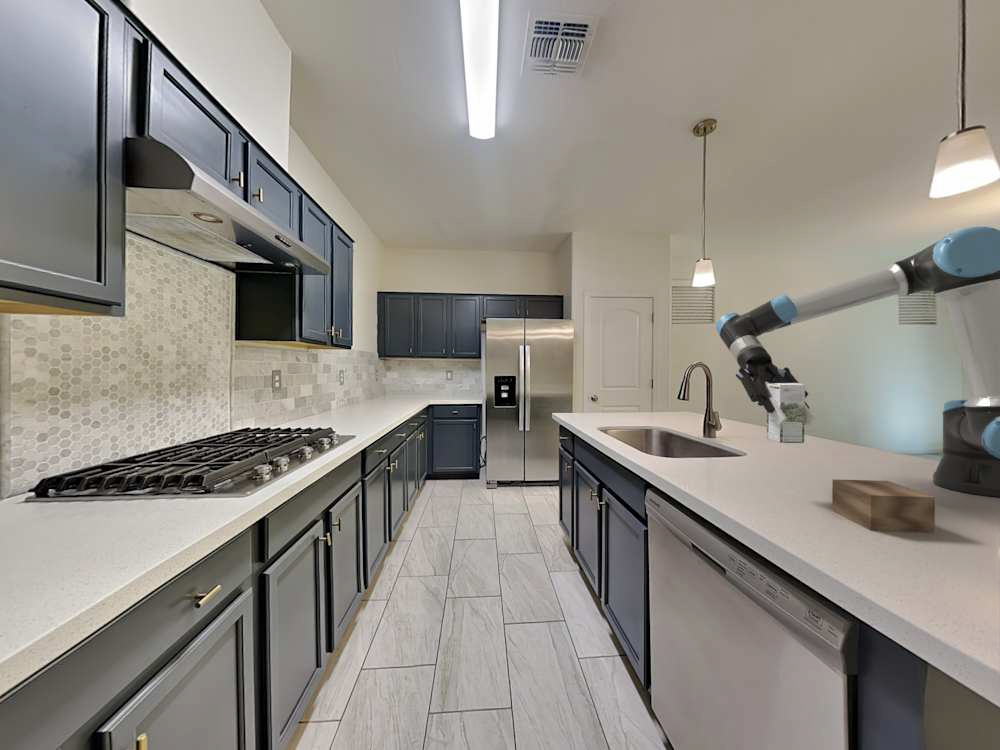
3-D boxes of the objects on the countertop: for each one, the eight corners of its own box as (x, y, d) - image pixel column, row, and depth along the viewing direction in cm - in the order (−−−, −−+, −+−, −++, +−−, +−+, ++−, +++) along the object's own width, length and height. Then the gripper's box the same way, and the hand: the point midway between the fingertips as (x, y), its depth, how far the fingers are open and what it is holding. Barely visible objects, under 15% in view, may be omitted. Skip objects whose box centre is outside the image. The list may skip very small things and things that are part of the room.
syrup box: (790, 439, 101) (789, 382, 101) (805, 443, 95) (805, 383, 95) (766, 439, 102) (766, 382, 101) (780, 443, 96) (780, 383, 95)
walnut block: (887, 512, 88) (887, 480, 87) (934, 533, 77) (934, 497, 76) (832, 510, 89) (832, 479, 89) (870, 530, 78) (871, 495, 78)
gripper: (777, 364, 114) (826, 430, 98) (711, 365, 113) (750, 431, 97) (791, 344, 108) (845, 410, 92) (722, 346, 108) (765, 412, 92)
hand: (796, 421), depth 95 cm, fingers closed on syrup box, 6 cm apart
